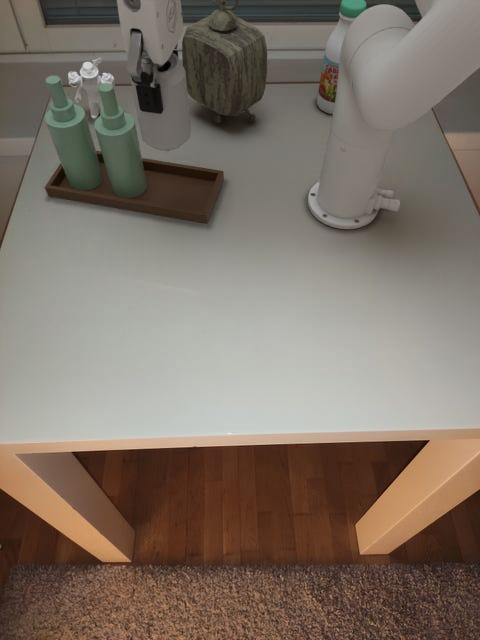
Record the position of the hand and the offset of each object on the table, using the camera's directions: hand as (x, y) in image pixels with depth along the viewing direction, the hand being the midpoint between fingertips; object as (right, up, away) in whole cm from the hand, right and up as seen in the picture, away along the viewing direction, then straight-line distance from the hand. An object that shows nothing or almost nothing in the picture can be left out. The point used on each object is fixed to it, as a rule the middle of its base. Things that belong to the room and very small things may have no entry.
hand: (160, 93), depth 67 cm
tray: (-8, -8, +20) cm, 23 cm away
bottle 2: (-9, -7, +20) cm, 23 cm away
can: (0, -4, +6) cm, 8 cm away
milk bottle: (+31, +14, +35) cm, 49 cm away
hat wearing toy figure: (-18, +10, +32) cm, 38 cm away
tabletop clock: (+8, +10, +33) cm, 35 cm away
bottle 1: (-17, -6, +21) cm, 28 cm away
